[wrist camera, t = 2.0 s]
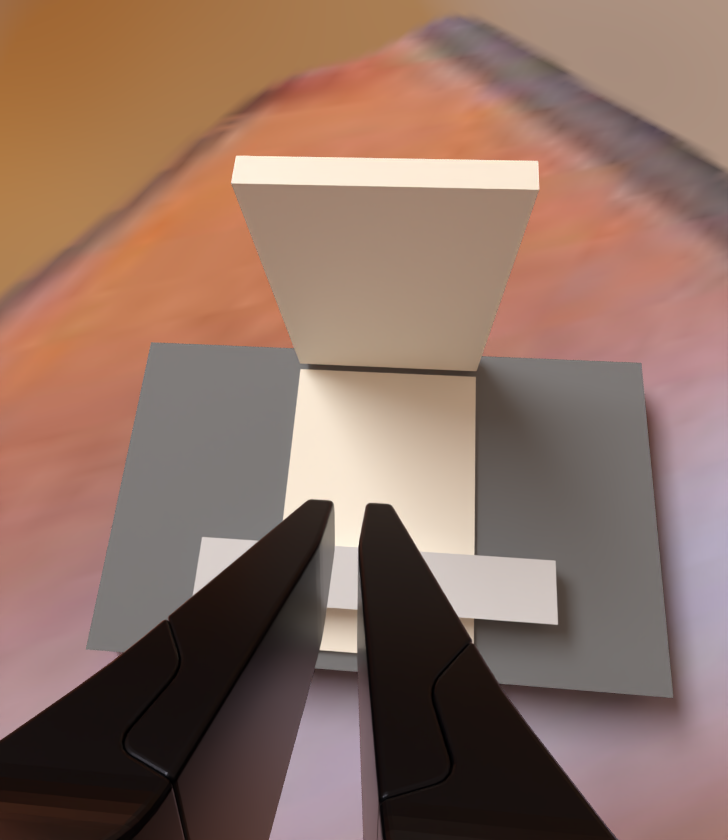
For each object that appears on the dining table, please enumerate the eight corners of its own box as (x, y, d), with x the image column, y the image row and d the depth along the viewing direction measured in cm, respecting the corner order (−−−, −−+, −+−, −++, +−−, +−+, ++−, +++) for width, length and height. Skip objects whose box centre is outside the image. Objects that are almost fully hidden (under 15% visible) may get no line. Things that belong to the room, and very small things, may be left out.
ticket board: (647, 689, 20) (695, 704, 17) (113, 645, 22) (63, 652, 18) (621, 382, 24) (656, 347, 21) (169, 362, 25) (136, 326, 22)
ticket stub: (476, 371, 22) (539, 189, 12) (300, 363, 22) (231, 183, 13) (476, 350, 22) (537, 157, 13) (302, 343, 23) (236, 152, 13)
